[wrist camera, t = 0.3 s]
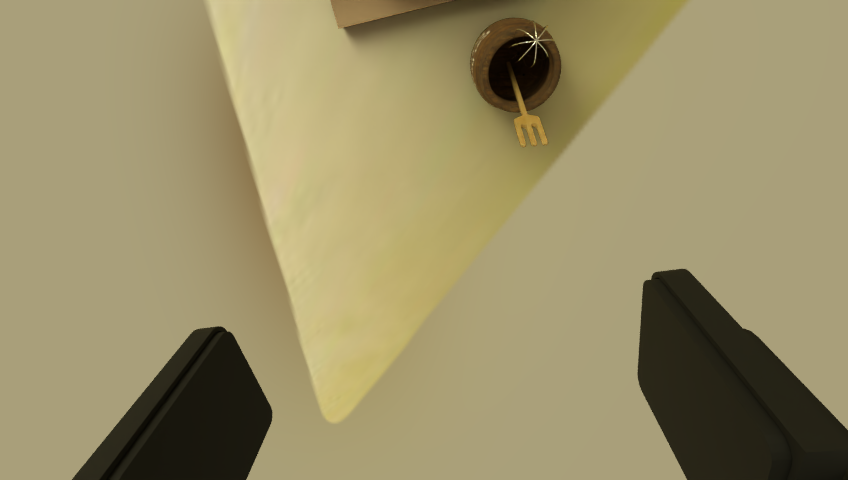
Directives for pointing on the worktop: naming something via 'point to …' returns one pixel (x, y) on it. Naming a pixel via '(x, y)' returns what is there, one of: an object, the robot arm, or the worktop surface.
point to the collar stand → (374, 9)
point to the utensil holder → (516, 70)
